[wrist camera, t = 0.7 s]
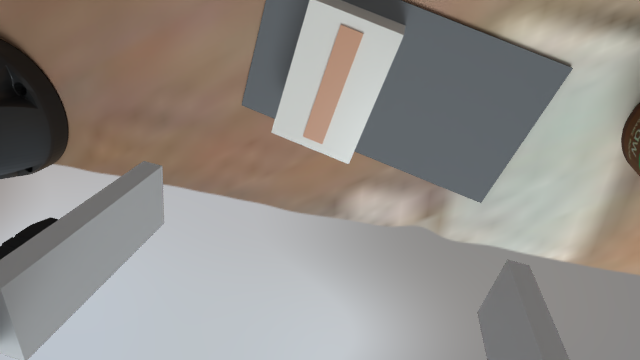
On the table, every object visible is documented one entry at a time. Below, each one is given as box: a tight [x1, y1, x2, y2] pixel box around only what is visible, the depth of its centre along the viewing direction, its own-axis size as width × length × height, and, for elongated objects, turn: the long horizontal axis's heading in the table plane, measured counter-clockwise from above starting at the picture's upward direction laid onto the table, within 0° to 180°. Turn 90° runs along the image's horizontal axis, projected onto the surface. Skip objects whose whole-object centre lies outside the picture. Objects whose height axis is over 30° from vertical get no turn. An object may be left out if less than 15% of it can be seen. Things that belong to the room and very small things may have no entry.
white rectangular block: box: [271, 0, 406, 164], centre depth 29 cm, size 10×6×6 cm, turn 161°
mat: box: [242, 0, 573, 203], centre depth 32 cm, size 24×13×1 cm, turn 71°
